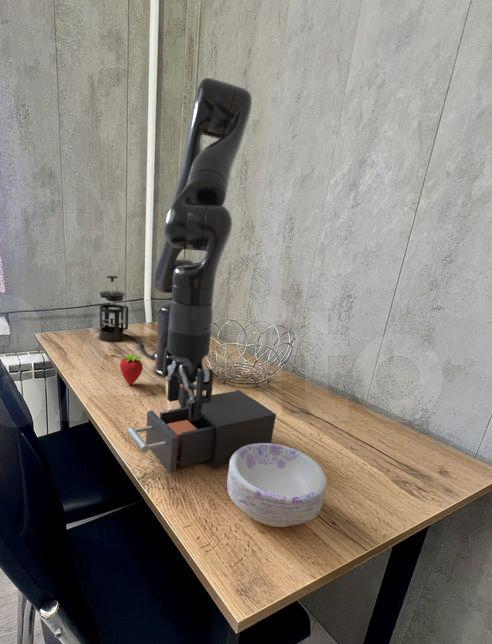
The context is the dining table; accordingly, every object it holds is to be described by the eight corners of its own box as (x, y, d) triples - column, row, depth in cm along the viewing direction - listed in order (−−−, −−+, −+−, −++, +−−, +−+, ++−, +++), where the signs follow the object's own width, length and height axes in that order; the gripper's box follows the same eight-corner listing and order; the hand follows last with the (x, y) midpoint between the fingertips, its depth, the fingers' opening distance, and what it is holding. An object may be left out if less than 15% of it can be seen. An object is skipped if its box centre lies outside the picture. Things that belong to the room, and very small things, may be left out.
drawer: (145, 479, 70) (146, 443, 67) (123, 448, 79) (123, 415, 76) (226, 458, 78) (231, 425, 75) (198, 432, 87) (201, 401, 84)
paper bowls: (259, 553, 57) (267, 509, 54) (208, 489, 70) (212, 450, 67) (338, 527, 63) (350, 485, 60) (278, 472, 76) (285, 435, 73)
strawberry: (135, 378, 115) (136, 345, 111) (146, 388, 109) (147, 353, 105) (115, 380, 112) (116, 347, 109) (125, 391, 106) (126, 356, 103)
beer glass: (190, 432, 88) (196, 369, 83) (159, 427, 89) (163, 365, 84) (194, 418, 94) (200, 358, 89) (166, 414, 96) (169, 355, 90)
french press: (103, 343, 144) (103, 278, 135) (93, 336, 151) (92, 274, 143) (132, 339, 150) (134, 277, 142) (121, 333, 157) (122, 273, 149)
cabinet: (214, 468, 76) (219, 426, 73) (183, 437, 86) (186, 399, 83) (269, 453, 82) (276, 414, 79) (234, 426, 92) (239, 390, 89)
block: (165, 444, 79) (166, 423, 78) (185, 439, 81) (186, 419, 80) (176, 456, 76) (178, 435, 74) (197, 451, 78) (199, 430, 76)
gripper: (231, 336, 66) (220, 423, 71) (188, 315, 77) (182, 391, 83) (191, 340, 62) (183, 431, 68) (153, 318, 74) (149, 397, 80)
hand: (183, 409), depth 76 cm, fingers open, 8 cm apart
